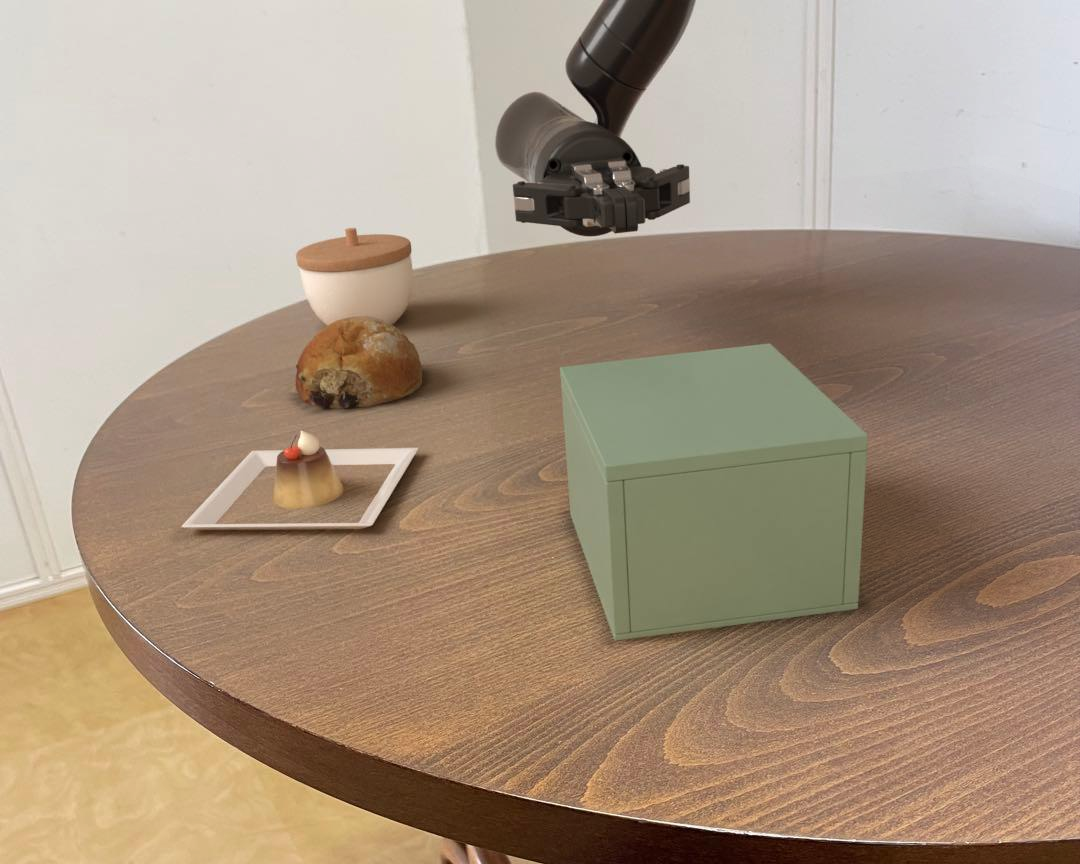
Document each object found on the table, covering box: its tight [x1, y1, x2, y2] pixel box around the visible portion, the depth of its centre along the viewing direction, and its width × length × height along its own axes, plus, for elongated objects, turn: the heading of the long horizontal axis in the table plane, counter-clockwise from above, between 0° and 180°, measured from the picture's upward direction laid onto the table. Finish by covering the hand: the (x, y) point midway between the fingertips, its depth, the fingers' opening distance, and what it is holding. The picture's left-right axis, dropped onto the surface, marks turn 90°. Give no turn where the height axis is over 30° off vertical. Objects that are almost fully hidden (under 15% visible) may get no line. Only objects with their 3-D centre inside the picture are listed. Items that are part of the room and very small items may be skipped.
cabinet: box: [559, 342, 869, 641], centre depth 59 cm, size 15×12×10 cm
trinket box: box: [295, 227, 414, 326], centre depth 107 cm, size 11×11×9 cm
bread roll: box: [295, 316, 423, 410], centre depth 90 cm, size 10×10×8 cm
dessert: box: [181, 430, 419, 531], centre depth 72 cm, size 12×12×5 cm
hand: (626, 215), depth 70 cm, fingers closed
